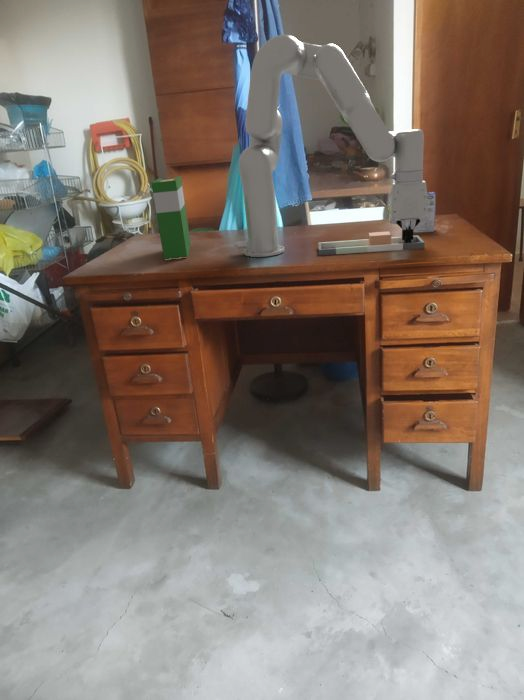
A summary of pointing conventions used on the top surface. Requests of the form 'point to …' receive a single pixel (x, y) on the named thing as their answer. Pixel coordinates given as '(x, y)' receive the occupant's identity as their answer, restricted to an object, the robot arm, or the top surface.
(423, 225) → the ink cartridge box
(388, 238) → the terracotta block
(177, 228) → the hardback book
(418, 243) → the track
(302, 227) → the top surface
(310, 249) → the top surface
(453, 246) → the top surface
